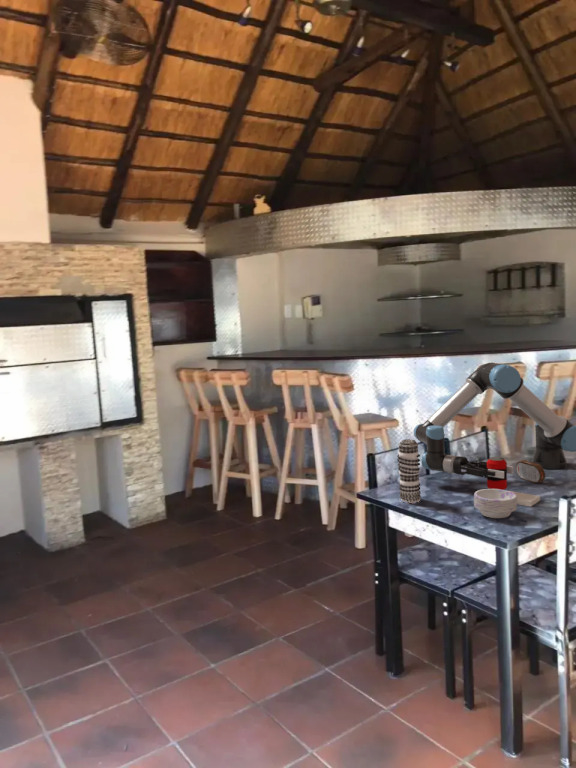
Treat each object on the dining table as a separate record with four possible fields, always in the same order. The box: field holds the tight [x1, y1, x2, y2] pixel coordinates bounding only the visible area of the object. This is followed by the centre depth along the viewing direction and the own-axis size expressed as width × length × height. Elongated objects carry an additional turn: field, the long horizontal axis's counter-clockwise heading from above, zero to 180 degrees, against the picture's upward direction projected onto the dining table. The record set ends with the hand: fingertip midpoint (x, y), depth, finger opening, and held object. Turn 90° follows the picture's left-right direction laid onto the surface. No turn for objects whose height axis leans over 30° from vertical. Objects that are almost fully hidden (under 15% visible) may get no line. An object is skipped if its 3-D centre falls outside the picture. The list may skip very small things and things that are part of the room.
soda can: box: [486, 456, 508, 490], centre depth 246 cm, size 8×8×12 cm
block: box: [509, 490, 541, 508], centre depth 241 cm, size 2×9×13 cm
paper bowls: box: [473, 488, 518, 519], centre depth 227 cm, size 15×15×8 cm
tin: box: [515, 459, 546, 484], centre depth 266 cm, size 15×3×8 cm, turn 22°
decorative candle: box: [396, 438, 422, 504], centre depth 248 cm, size 9×9×25 cm
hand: (508, 472), depth 243 cm, fingers closed on soda can, 7 cm apart
